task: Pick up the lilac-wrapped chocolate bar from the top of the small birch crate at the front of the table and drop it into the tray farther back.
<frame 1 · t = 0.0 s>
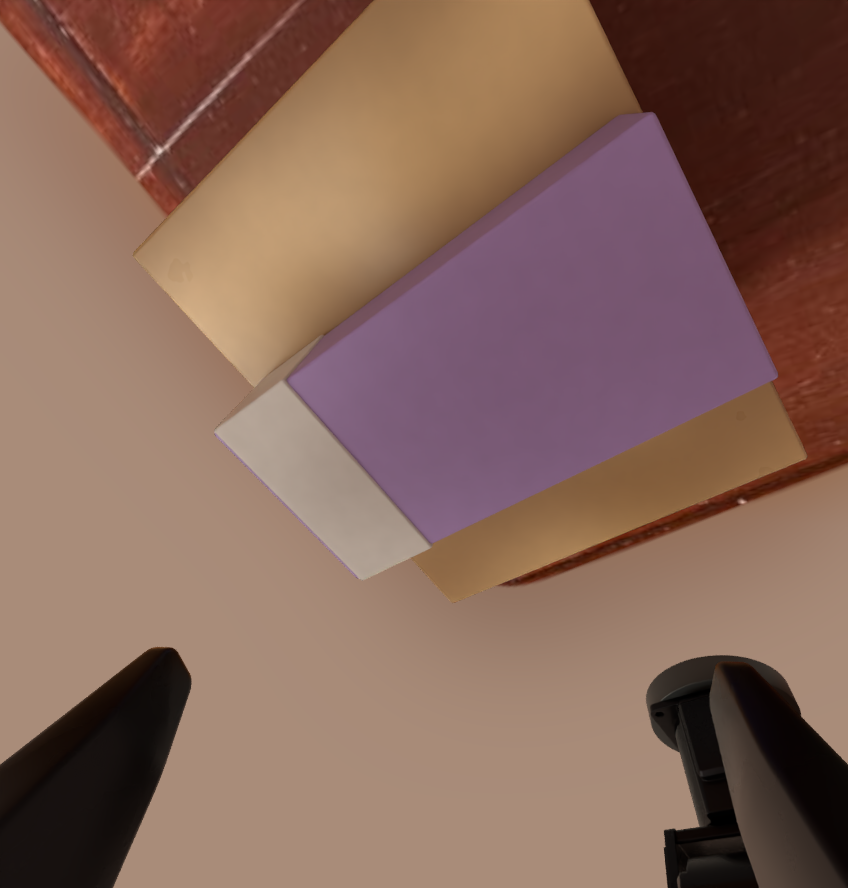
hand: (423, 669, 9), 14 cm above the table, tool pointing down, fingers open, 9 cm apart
chocolate bar: (473, 358, 11), point 9 cm above the table, touching crate
crate: (488, 263, 19), on the table
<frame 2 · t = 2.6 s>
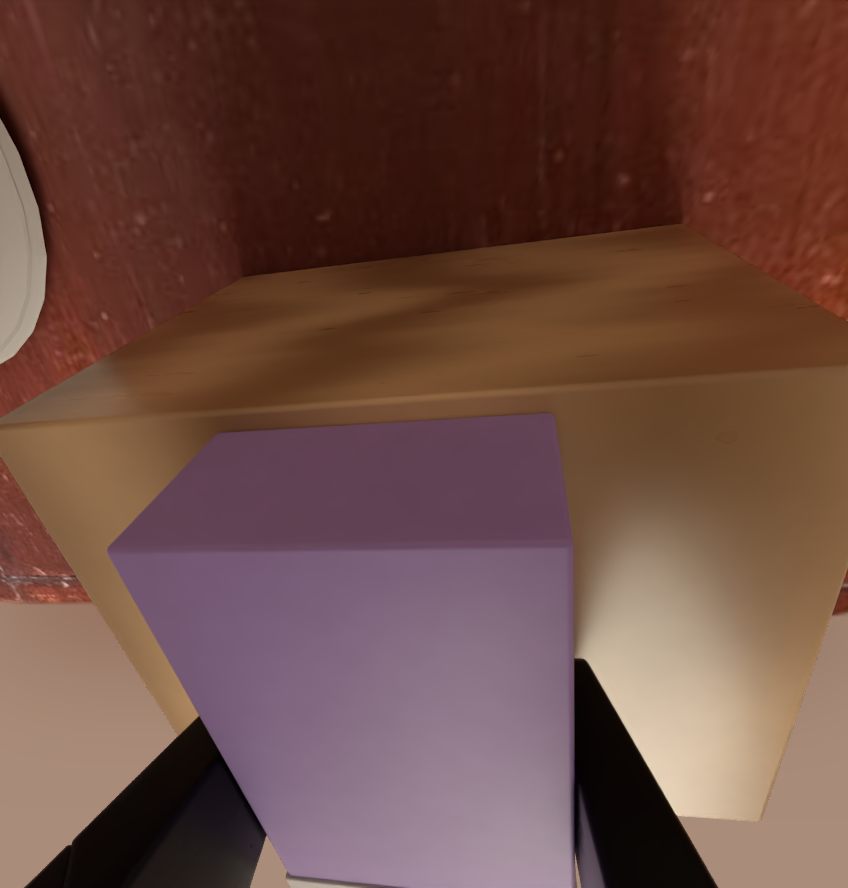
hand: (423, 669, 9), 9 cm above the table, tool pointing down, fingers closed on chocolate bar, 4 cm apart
chocolate bar: (423, 654, 9), point 9 cm above the table, touching crate, gripper
crate: (463, 410, 17), on the table
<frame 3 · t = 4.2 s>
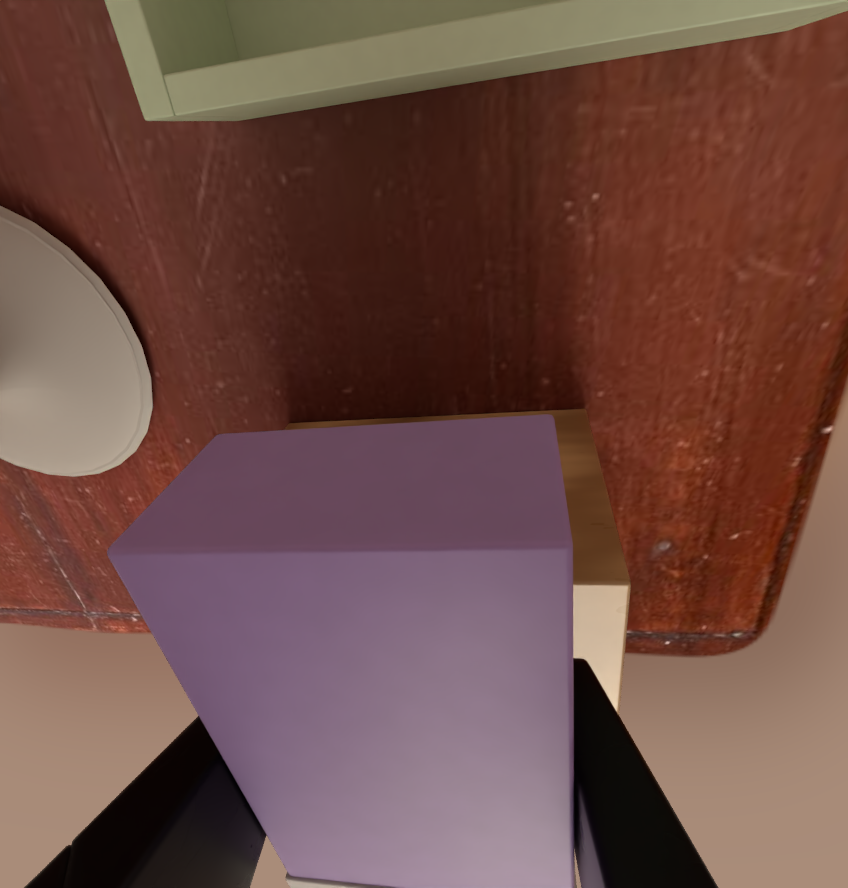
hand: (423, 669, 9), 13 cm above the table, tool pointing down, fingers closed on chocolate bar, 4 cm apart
chocolate bar: (423, 655, 9), point 13 cm above the table, touching gripper
chalice: (21, 349, 22), on the table
crate: (442, 511, 24), on the table
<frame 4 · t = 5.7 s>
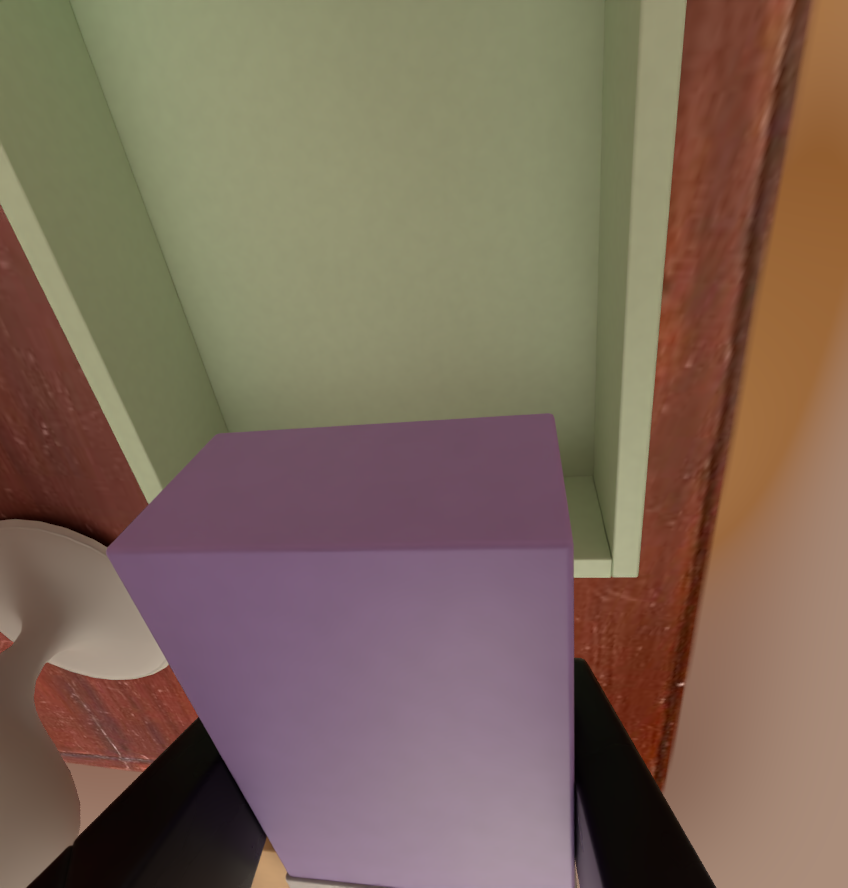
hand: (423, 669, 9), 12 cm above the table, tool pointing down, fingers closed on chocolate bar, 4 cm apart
chocolate bar: (423, 655, 9), point 12 cm above the table, touching gripper
tray: (371, 244, 17), on the table
chalice: (79, 598, 29), on the table
crate: (403, 713, 30), on the table
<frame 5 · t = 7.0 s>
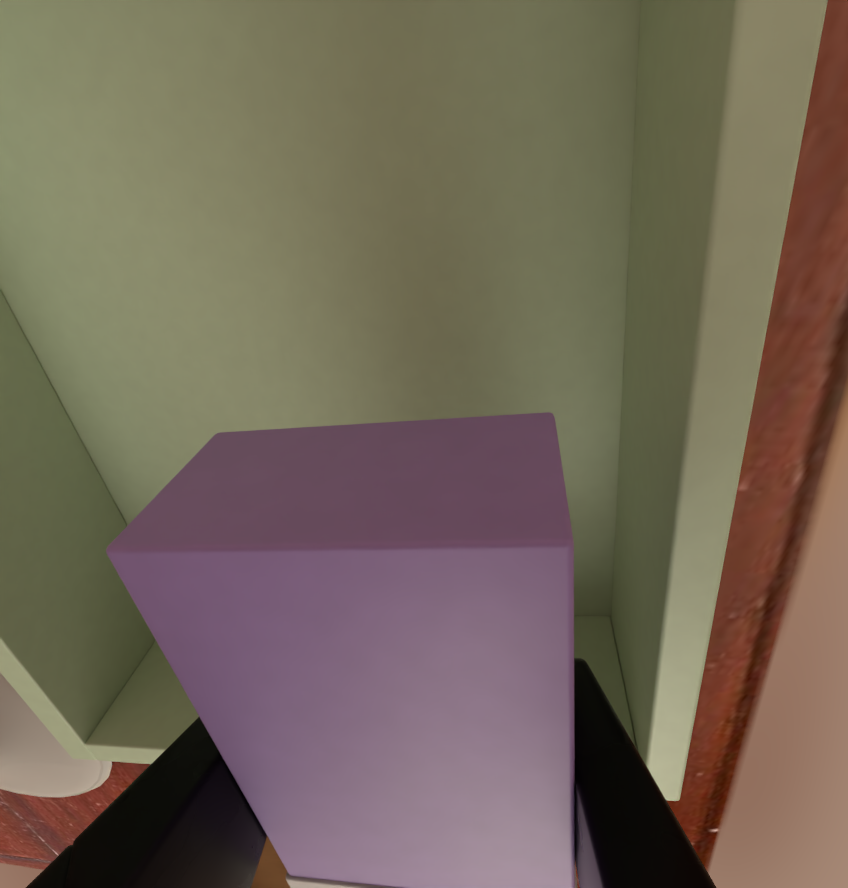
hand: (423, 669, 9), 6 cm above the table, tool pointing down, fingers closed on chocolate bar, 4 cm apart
chocolate bar: (423, 654, 9), point 6 cm above the table, touching gripper
tray: (307, 329, 13), on the table
crate: (380, 840, 26), on the table
when the fingers open (2 cm above the table, at t = 8.7 s): chocolate bar drops 1 cm, resting on tray.
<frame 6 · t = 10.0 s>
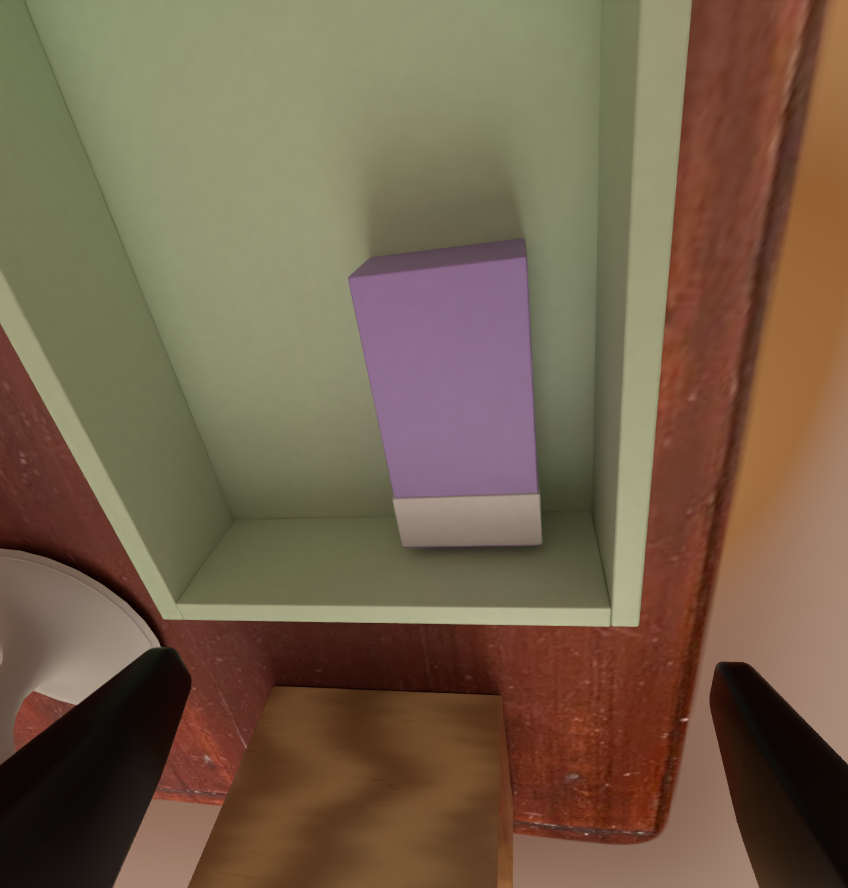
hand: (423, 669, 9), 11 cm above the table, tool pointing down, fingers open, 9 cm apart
chocolate bar: (461, 391, 17), point 1 cm above the table, touching tray
tray: (356, 272, 16), on the table
chalice: (63, 626, 29), on the table
crate: (397, 744, 29), on the table
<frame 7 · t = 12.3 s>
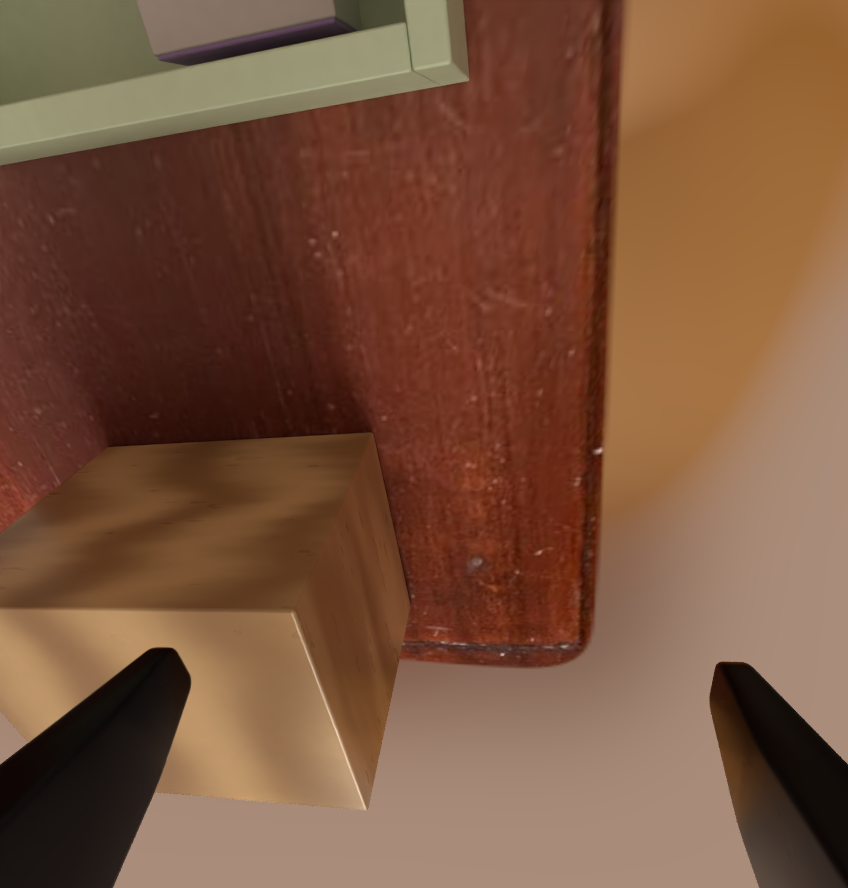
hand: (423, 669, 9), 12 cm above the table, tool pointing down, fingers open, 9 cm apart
crate: (266, 529, 24), on the table
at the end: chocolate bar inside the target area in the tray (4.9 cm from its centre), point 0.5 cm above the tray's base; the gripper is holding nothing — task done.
